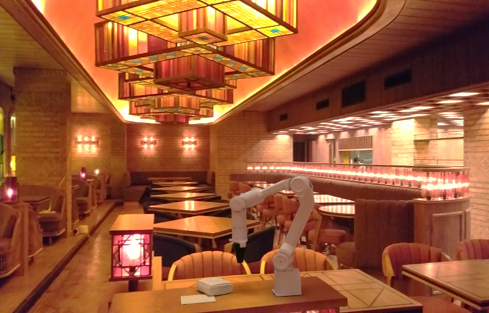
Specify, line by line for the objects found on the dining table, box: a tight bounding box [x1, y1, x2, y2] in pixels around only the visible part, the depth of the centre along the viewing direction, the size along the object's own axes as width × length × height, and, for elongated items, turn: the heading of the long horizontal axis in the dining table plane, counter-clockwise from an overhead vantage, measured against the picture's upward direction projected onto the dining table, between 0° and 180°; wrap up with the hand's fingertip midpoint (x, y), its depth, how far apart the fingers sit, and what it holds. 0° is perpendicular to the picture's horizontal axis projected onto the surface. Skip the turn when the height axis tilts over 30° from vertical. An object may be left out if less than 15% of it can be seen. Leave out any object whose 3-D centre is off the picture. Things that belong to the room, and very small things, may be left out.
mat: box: [179, 293, 217, 306], centre depth 148 cm, size 12×9×1 cm
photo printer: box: [196, 277, 234, 296], centre depth 157 cm, size 10×4×12 cm
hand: (240, 262), depth 158 cm, fingers closed
